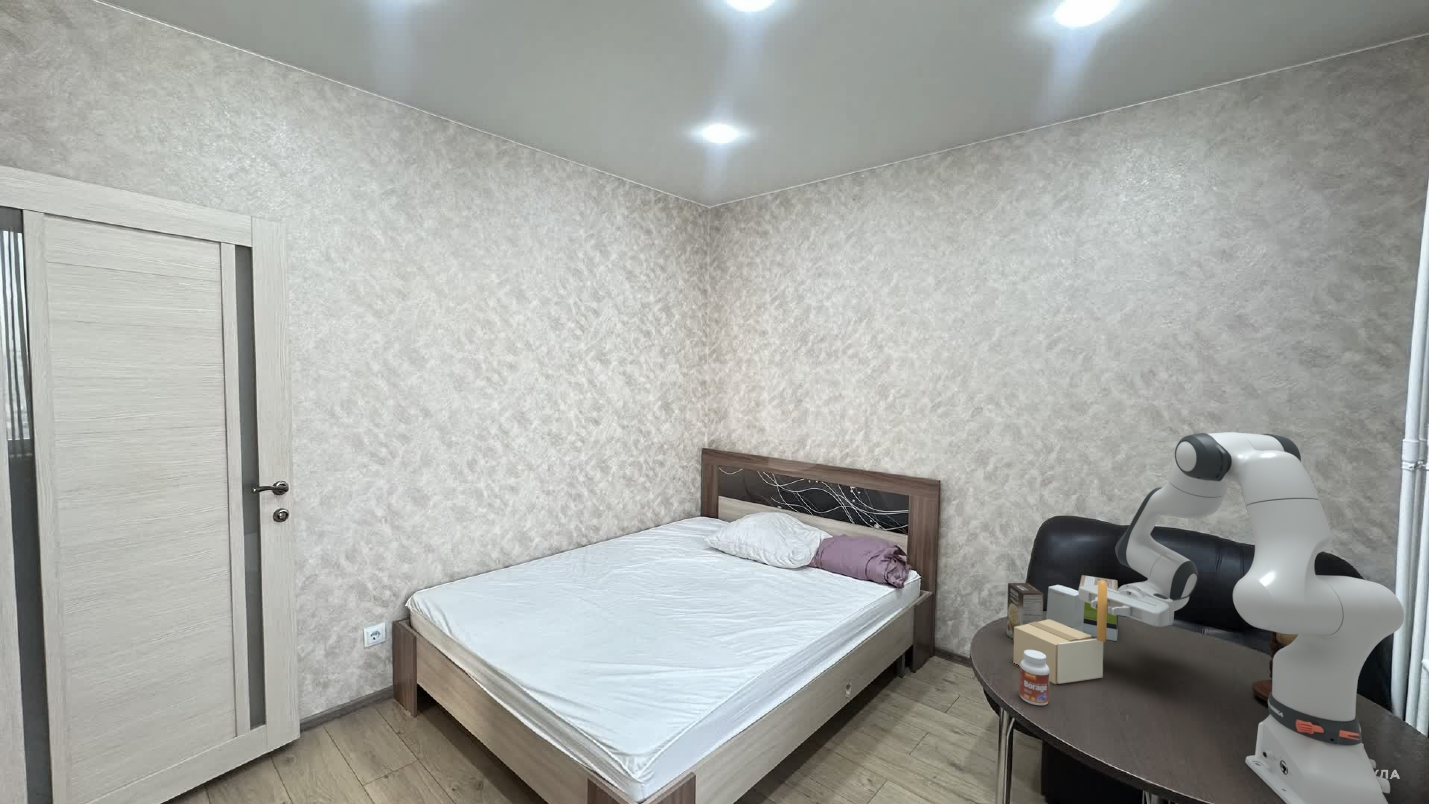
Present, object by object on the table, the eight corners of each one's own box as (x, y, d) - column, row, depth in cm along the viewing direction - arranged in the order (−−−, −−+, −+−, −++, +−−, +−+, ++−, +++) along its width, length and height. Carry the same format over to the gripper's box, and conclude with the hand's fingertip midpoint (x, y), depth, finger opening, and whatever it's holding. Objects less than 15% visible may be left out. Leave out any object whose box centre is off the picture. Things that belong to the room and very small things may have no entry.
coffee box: (1005, 634, 175) (1006, 582, 175) (1026, 634, 175) (1027, 582, 174) (1021, 647, 166) (1022, 592, 165) (1043, 648, 166) (1044, 592, 165)
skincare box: (1045, 635, 174) (1045, 586, 174) (1056, 631, 178) (1057, 583, 177) (1073, 645, 167) (1074, 595, 167) (1084, 641, 170) (1085, 591, 170)
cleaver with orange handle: (1057, 682, 145) (1058, 584, 144) (1100, 676, 148) (1102, 580, 148) (1063, 686, 143) (1065, 586, 142) (1107, 679, 146) (1109, 582, 146)
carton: (1013, 663, 156) (1014, 626, 156) (1048, 654, 161) (1049, 618, 161) (1054, 684, 145) (1055, 644, 145) (1091, 673, 150) (1091, 635, 150)
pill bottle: (1021, 703, 136) (1021, 657, 136) (1017, 690, 142) (1018, 646, 141) (1051, 708, 134) (1051, 661, 133) (1046, 695, 139) (1047, 650, 139)
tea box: (1080, 618, 188) (1081, 573, 187) (1118, 626, 182) (1119, 579, 182) (1077, 634, 175) (1078, 586, 175) (1117, 642, 170) (1118, 593, 169)
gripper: (1098, 577, 160) (1063, 583, 155) (1180, 602, 142) (1144, 610, 136) (1097, 599, 161) (1063, 606, 155) (1179, 627, 142) (1144, 636, 136)
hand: (1101, 608), depth 146 cm, fingers open, 3 cm apart
